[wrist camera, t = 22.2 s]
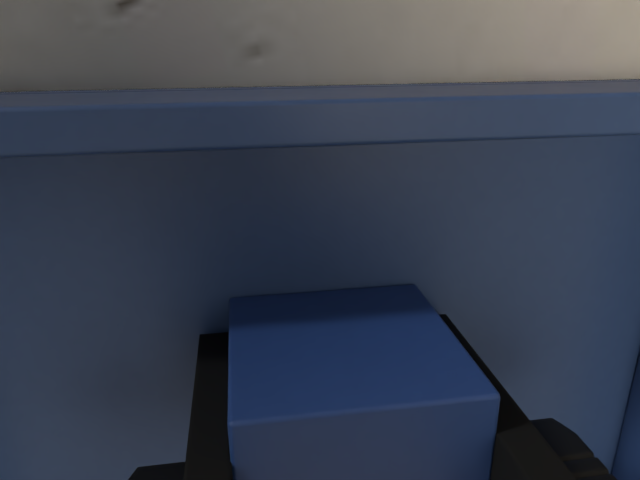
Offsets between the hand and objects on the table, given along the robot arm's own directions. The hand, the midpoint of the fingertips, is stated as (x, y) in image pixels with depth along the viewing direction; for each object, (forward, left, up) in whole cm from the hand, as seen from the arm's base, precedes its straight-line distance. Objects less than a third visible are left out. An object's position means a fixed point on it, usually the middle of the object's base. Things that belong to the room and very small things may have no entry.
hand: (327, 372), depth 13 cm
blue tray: (0, 0, -1) cm, 1 cm away
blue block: (0, 0, 0) cm, 0 cm away
